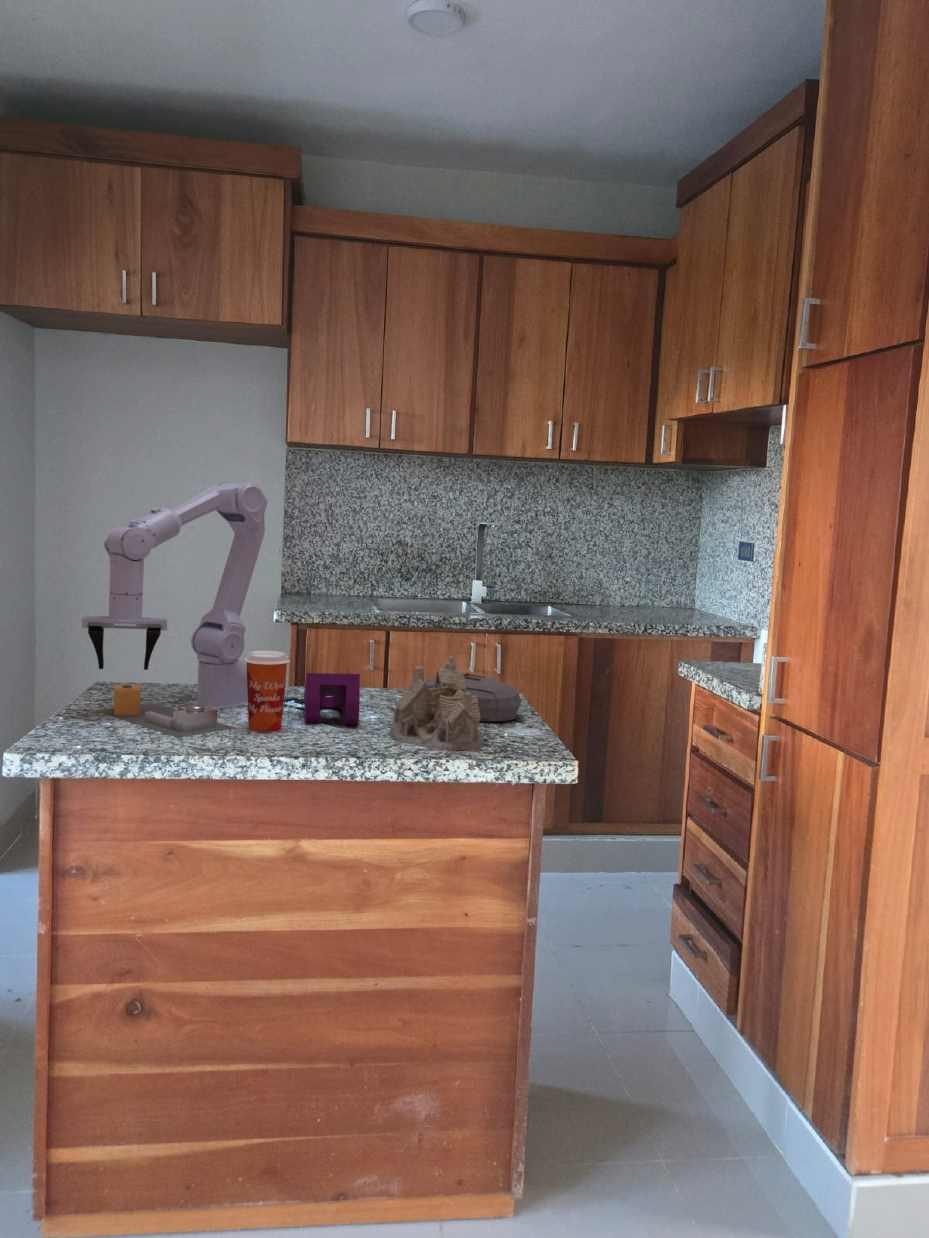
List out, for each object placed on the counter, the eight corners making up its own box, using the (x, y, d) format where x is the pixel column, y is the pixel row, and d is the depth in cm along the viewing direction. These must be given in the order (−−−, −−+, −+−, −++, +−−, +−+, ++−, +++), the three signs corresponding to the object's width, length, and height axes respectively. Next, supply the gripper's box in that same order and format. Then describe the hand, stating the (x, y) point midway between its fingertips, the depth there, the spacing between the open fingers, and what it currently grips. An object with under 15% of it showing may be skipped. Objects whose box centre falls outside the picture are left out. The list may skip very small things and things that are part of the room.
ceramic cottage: (387, 727, 185) (394, 648, 182) (475, 733, 187) (483, 655, 184) (389, 754, 170) (396, 668, 167) (484, 760, 171) (493, 675, 169)
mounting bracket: (302, 741, 198) (305, 719, 180) (303, 698, 200) (306, 672, 183) (352, 741, 199) (359, 720, 182) (352, 699, 202) (359, 674, 185)
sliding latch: (183, 715, 185) (184, 694, 184) (219, 725, 178) (220, 704, 177) (144, 720, 179) (145, 699, 178) (180, 732, 171) (180, 710, 171)
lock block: (139, 708, 189) (139, 683, 188) (140, 714, 183) (140, 689, 183) (113, 708, 187) (114, 683, 187) (114, 715, 182) (114, 689, 181)
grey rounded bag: (411, 716, 197) (508, 728, 191) (413, 675, 196) (511, 685, 190) (438, 703, 211) (529, 714, 205) (440, 664, 210) (532, 674, 204)
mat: (151, 705, 194) (151, 702, 194) (236, 731, 177) (236, 727, 177) (94, 713, 185) (94, 710, 185) (177, 740, 168) (177, 737, 168)
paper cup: (244, 736, 173) (246, 656, 172) (241, 726, 181) (243, 649, 179) (289, 735, 175) (292, 657, 174) (285, 726, 183) (287, 650, 181)
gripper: (81, 594, 174) (79, 671, 175) (168, 597, 178) (165, 672, 179) (84, 590, 180) (82, 665, 182) (168, 594, 185) (165, 666, 186)
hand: (123, 668), depth 181 cm, fingers open, 7 cm apart
